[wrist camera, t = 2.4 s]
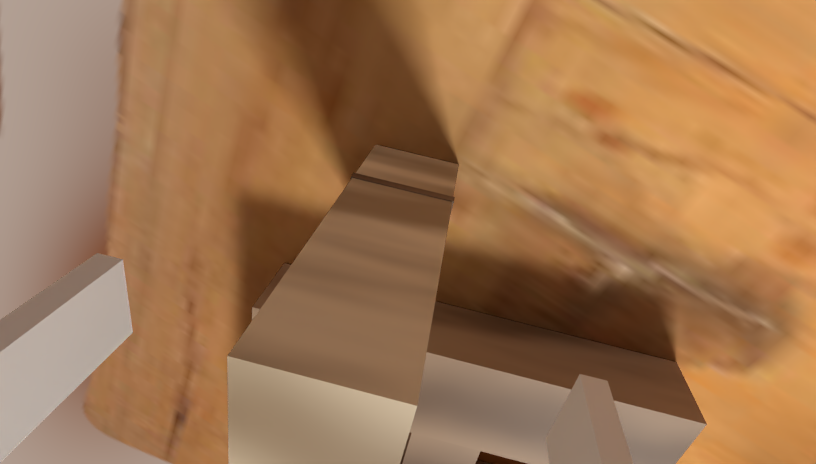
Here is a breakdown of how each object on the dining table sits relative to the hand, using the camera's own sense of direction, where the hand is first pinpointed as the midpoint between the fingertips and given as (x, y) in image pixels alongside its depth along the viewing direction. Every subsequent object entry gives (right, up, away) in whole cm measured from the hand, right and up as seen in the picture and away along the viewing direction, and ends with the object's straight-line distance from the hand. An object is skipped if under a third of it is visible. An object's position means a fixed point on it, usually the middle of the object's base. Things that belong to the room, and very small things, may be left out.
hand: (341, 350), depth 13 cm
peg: (+2, +5, +9) cm, 11 cm away
